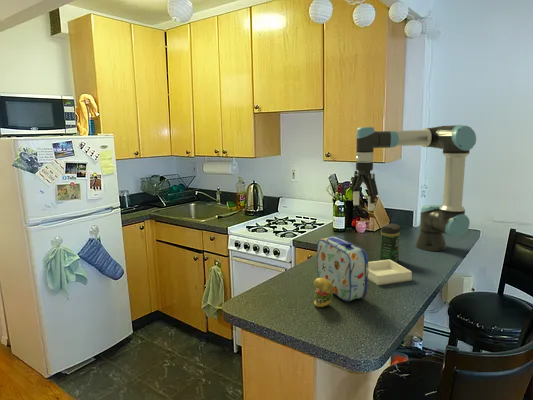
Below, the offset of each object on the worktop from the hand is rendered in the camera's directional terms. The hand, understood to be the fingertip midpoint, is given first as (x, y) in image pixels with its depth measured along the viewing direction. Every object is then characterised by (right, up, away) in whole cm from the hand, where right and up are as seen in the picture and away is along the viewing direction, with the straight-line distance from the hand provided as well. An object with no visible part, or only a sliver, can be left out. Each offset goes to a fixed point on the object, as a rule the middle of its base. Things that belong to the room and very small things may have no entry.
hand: (363, 207), depth 176 cm
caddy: (+7, -30, -9) cm, 32 cm away
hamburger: (-24, -36, -36) cm, 56 cm away
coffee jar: (+15, -27, +9) cm, 32 cm away
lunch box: (-15, -33, -24) cm, 44 cm away
